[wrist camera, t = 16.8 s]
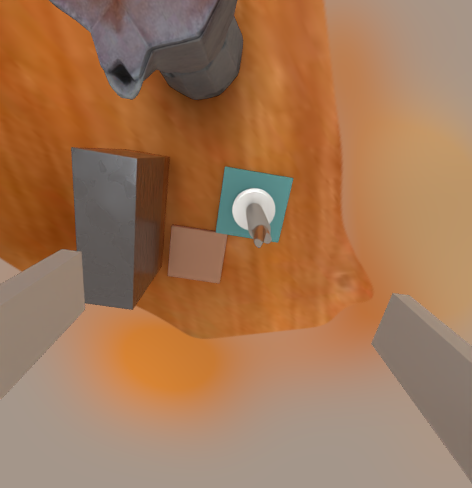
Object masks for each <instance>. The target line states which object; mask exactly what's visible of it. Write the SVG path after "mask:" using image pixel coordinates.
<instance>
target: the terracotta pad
mask: <svg viewBox="0 0 472 488" xmlns="http://www.w3.org/2000/svg"><path fill="white" fill-rule="evenodd" d="M226 241H227V234H220V233H216V231H211V230H204V229H198V228H192V227H185V226H179V225H172V227H171V240H170V252H169V265H168V276H172V277H179V278H186V279H192V280H199V281H206V282H213V283H220V278H221V272H222V266H223V259H224V253H225V247H226Z"/></svg>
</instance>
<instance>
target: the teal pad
mask: <svg viewBox="0 0 472 488" xmlns="http://www.w3.org/2000/svg"><path fill="white" fill-rule="evenodd" d="M292 182H293V178H290V177H284V176H278V175H272V174H266V173H260V172H255V171H249V170H243V169H237V168H231V167H225V170H224V177H223V184H222V191H221V198H220V205H219V212H218V219H217V226H216V233H220V234H227V235H233V236H240V237H246V238H252V237H251V236H250V234H249V231H248V230H246V229H244V228H242V227H240V226H239V225H238V224H237V223H236V221H235V219H234V217H233V213H232V207H233V203H234V200H235V199H236V197H237V196H238V195H239V194H240V193H241V192H242V191H244V190H246V189H250V188H258V189H262V190H264V191H266V192H267V193H268V194H269V195H270V196H271V197H272V199H273V201H274V204H275V215H274V217H273V220H272V221H271V223H270V227H271V233H270V235H271V238H272V241H271V242H278V241H279V237H280V233H281V229H282V224H283V220H284V216H285V211H286V207H287V203H288V199H289V194H290V190H291V186H292ZM252 239H253V238H252Z"/></svg>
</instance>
